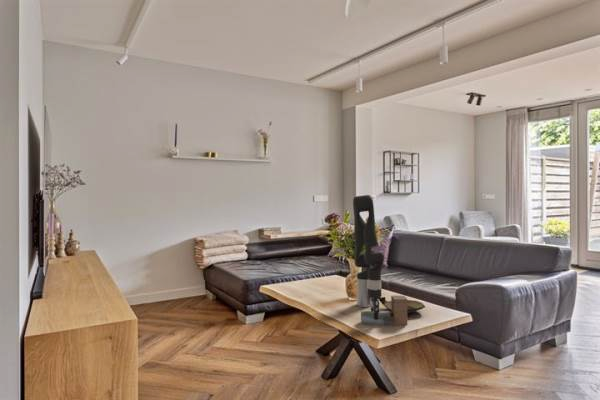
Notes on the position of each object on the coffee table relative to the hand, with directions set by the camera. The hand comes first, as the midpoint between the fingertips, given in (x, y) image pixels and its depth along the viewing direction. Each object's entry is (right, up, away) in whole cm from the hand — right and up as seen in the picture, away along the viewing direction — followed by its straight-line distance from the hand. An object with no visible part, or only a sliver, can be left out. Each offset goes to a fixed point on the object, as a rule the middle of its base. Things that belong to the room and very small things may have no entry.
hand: (374, 316), depth 215 cm
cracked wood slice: (+20, -3, +22) cm, 29 cm away
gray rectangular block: (+1, -3, 0) cm, 3 cm away
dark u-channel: (+11, -3, 0) cm, 11 cm away
